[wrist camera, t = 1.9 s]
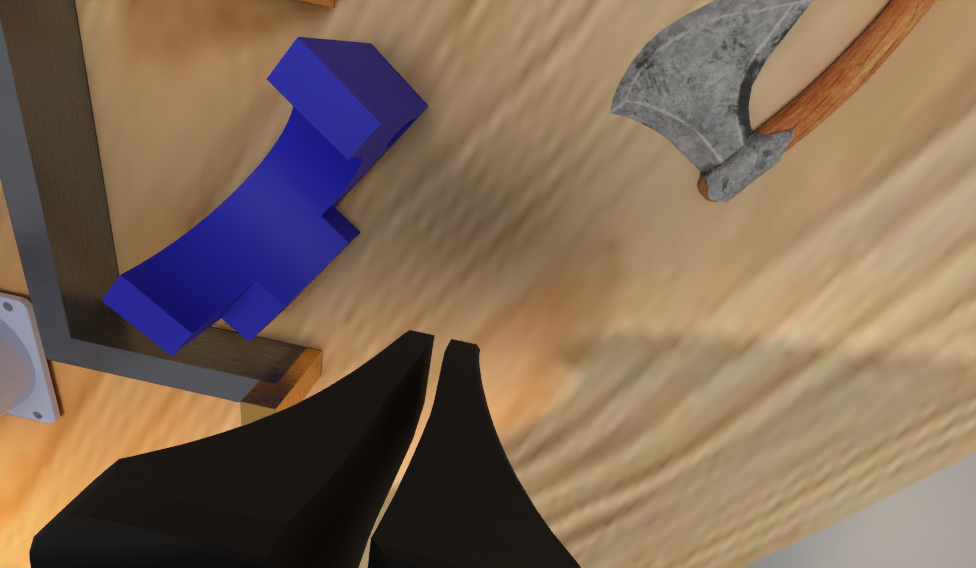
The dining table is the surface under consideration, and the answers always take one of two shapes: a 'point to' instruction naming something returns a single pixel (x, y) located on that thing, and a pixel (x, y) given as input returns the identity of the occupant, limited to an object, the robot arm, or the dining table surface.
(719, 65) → the axe
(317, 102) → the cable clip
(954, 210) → the dining table surface
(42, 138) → the keeper cradle
